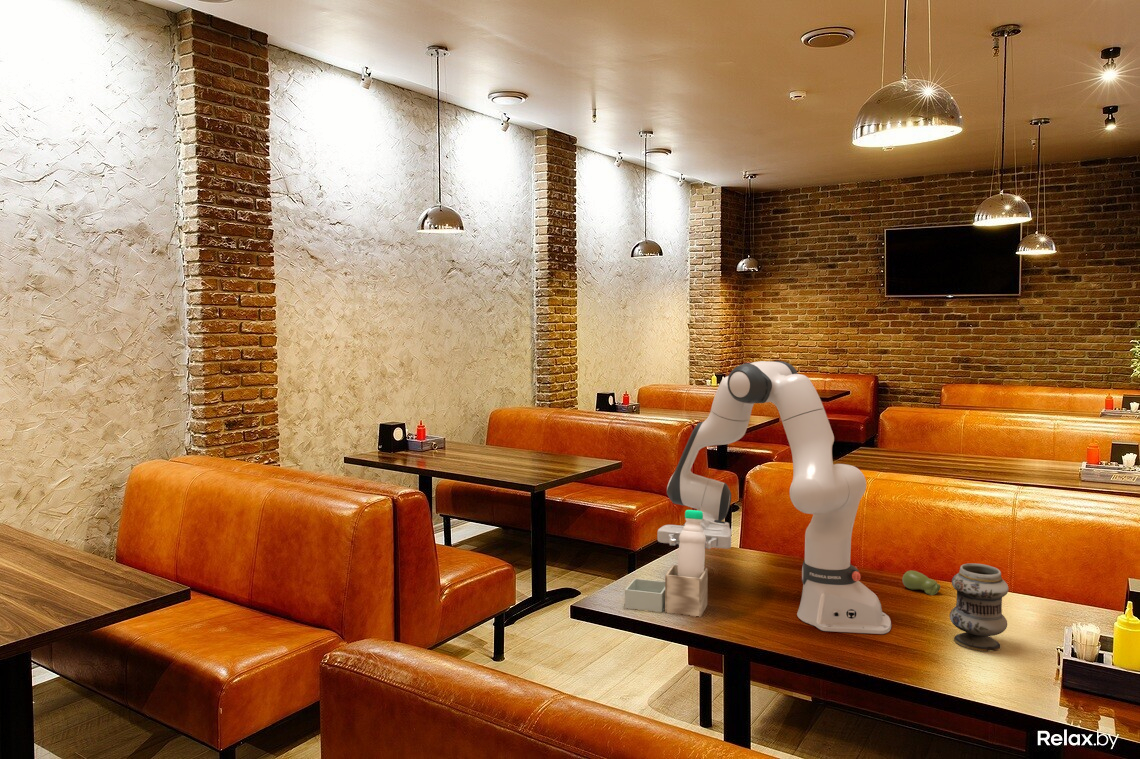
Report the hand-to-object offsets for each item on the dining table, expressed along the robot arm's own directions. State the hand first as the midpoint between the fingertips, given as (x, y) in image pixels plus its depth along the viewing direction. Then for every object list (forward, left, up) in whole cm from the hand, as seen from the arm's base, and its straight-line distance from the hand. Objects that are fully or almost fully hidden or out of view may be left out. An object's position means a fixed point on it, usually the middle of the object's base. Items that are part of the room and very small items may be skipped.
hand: (689, 544), depth 212 cm
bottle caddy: (+11, +4, -16) cm, 20 cm away
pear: (-59, -32, -17) cm, 70 cm away
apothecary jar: (-69, +4, -17) cm, 71 cm away
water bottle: (-1, +4, -16) cm, 16 cm away
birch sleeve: (0, +4, -16) cm, 17 cm away
